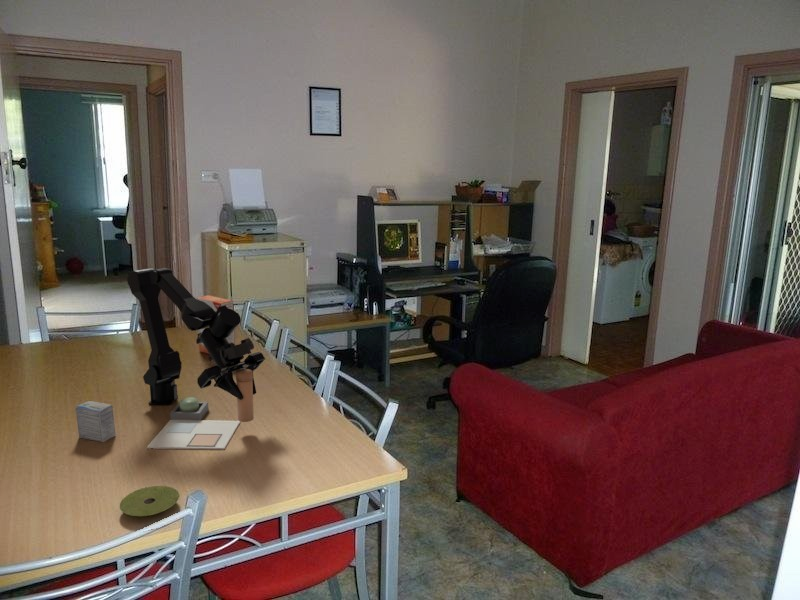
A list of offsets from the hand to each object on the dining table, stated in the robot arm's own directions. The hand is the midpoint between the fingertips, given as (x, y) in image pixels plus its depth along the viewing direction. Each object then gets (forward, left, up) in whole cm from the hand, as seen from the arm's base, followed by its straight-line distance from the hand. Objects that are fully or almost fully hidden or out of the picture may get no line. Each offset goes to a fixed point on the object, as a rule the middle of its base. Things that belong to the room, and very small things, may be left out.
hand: (248, 396), depth 155 cm
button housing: (-19, +11, -10) cm, 24 cm away
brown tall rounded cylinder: (-1, +1, -7) cm, 7 cm away
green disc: (-12, -35, -11) cm, 39 cm away
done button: (-19, +11, -9) cm, 24 cm away
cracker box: (-27, +66, -11) cm, 72 cm away
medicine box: (-38, -3, -11) cm, 40 cm away
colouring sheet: (-14, -1, -10) cm, 17 cm away
